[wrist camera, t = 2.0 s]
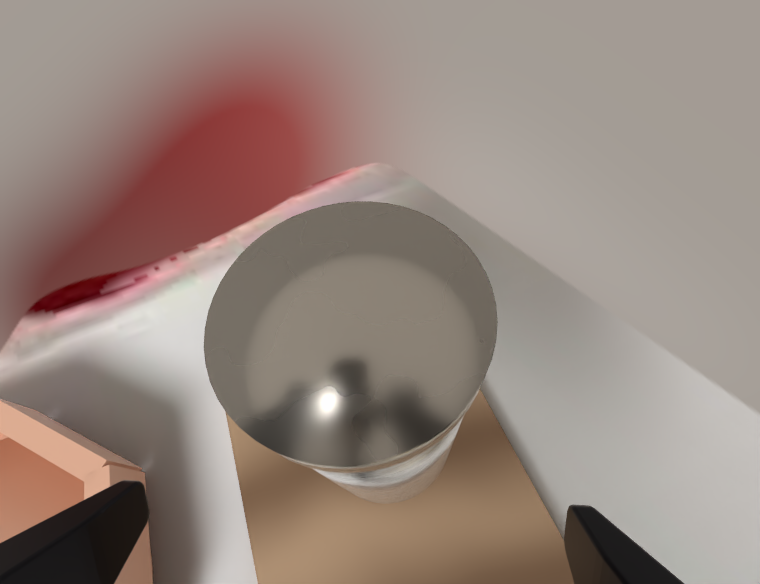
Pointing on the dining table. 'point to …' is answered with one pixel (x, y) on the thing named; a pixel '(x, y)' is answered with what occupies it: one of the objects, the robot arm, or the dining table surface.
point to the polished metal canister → (354, 344)
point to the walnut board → (403, 519)
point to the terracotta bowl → (58, 478)
